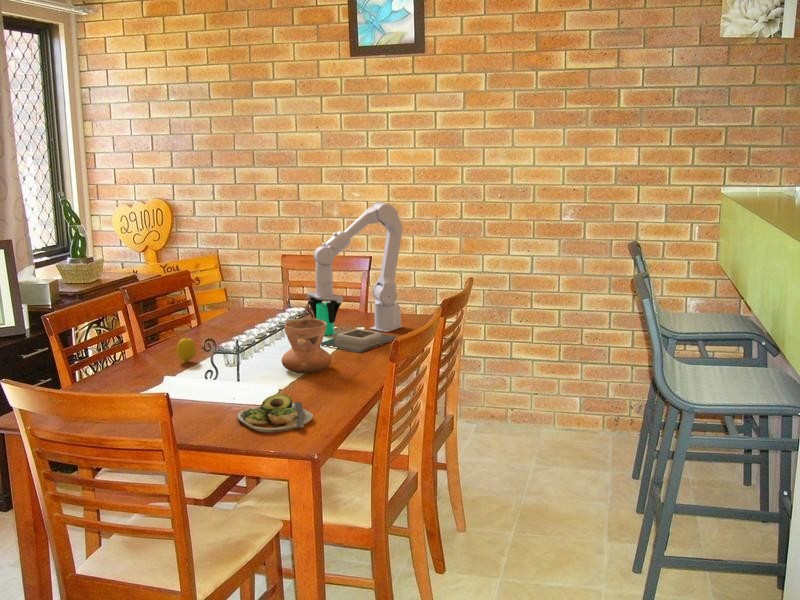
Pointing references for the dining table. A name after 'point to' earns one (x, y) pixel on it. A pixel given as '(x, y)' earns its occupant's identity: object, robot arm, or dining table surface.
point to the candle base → (358, 340)
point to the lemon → (186, 349)
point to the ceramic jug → (305, 346)
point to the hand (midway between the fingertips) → (325, 321)
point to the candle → (324, 317)
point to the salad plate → (276, 415)
